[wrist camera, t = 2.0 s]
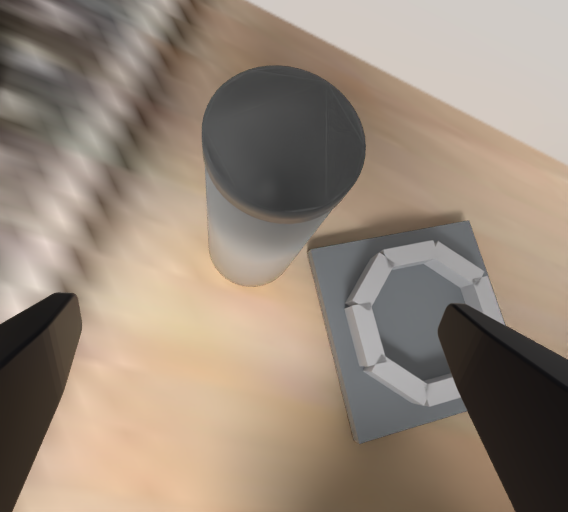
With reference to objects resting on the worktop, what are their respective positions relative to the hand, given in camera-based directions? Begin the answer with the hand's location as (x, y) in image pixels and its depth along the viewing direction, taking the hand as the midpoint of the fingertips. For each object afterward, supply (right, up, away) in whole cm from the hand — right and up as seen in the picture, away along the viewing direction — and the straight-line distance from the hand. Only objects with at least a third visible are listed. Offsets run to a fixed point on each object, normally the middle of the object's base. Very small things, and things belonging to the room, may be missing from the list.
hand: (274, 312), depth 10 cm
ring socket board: (+7, -2, +12) cm, 15 cm away
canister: (-2, +2, +12) cm, 12 cm away
